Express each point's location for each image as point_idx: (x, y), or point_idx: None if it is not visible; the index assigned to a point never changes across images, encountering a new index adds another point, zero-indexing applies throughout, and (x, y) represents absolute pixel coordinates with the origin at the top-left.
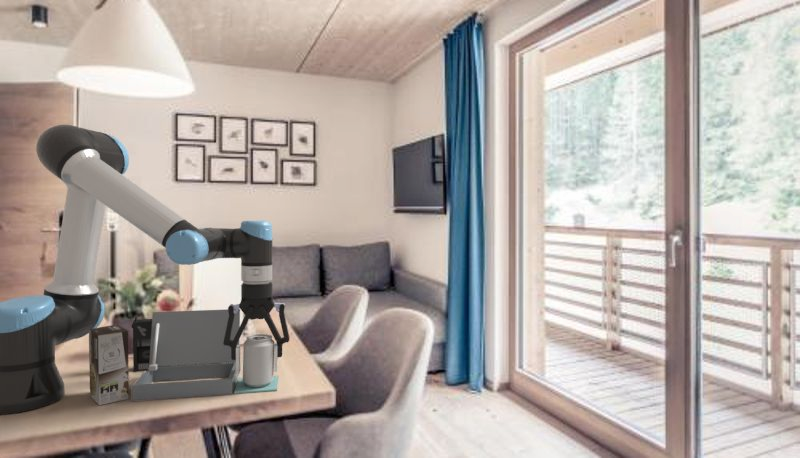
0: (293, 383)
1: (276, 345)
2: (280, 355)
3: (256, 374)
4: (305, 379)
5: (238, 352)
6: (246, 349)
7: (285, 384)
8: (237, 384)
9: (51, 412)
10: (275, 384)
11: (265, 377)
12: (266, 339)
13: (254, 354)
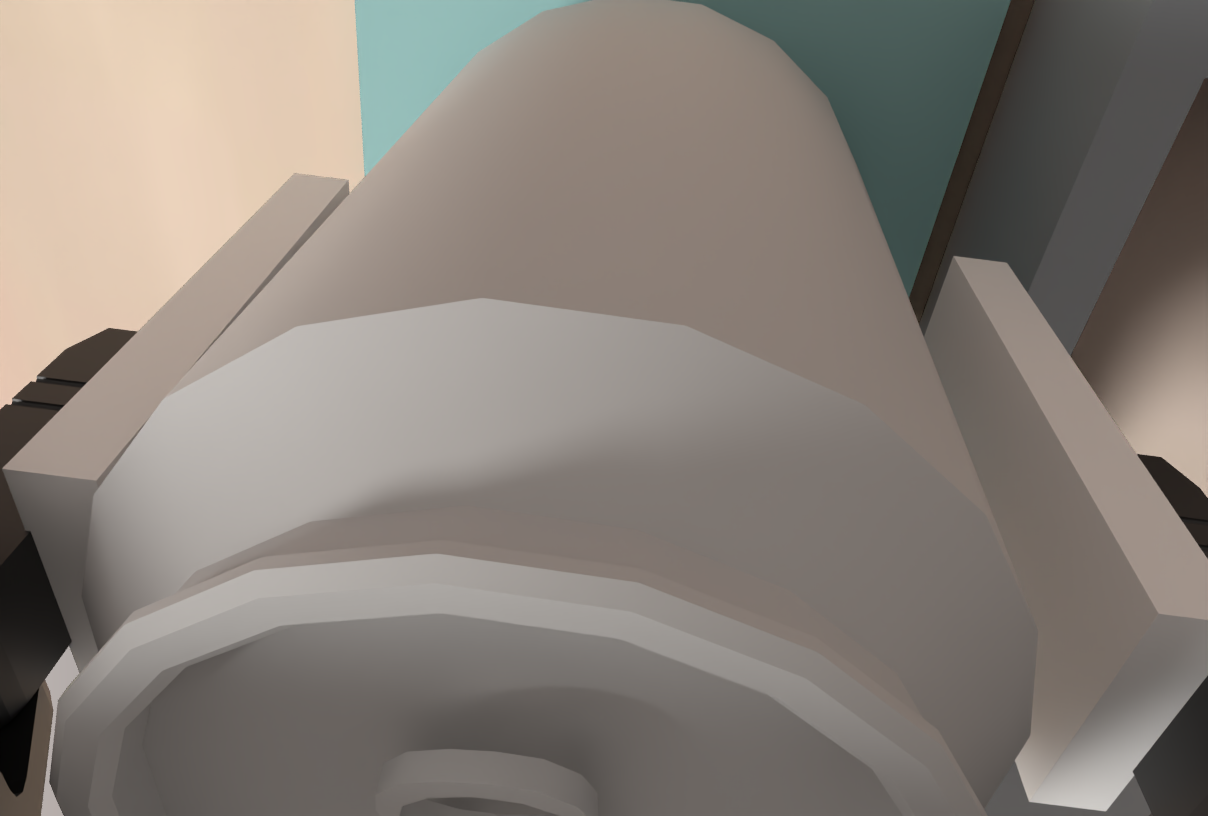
0: (151, 115)
1: (42, 510)
2: (108, 354)
3: (668, 44)
4: (17, 218)
5: (1116, 518)
6: (964, 460)
7: (260, 111)
8: (910, 266)
9: None
10: (389, 91)
11: (507, 47)
12: (176, 608)
13: (721, 209)
